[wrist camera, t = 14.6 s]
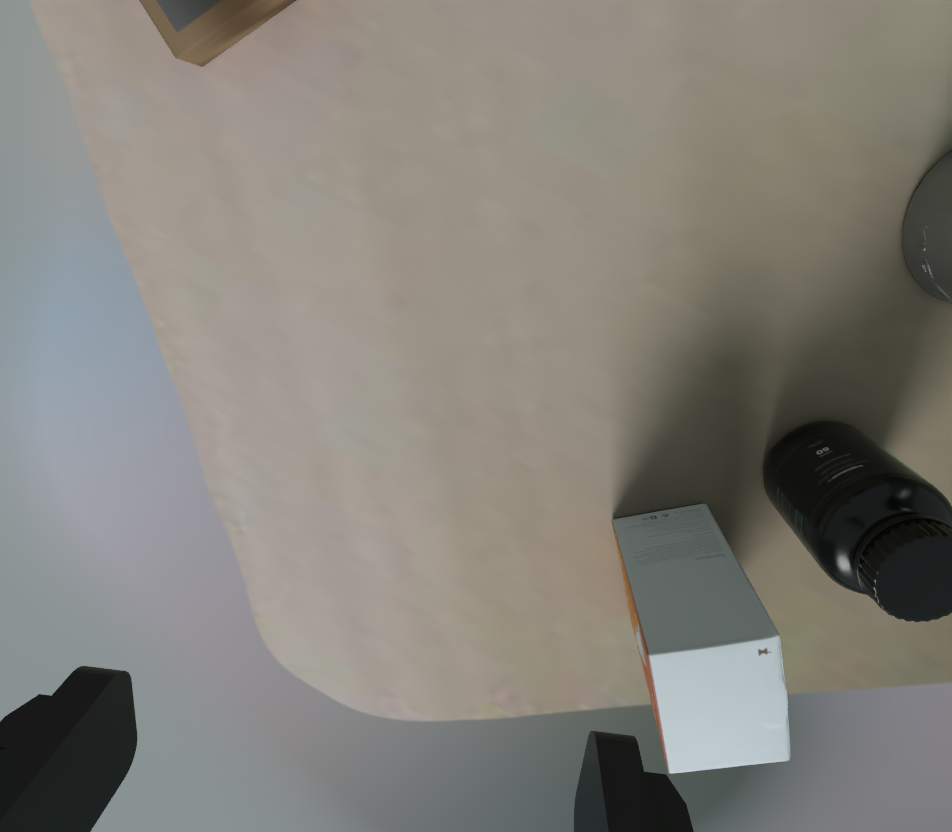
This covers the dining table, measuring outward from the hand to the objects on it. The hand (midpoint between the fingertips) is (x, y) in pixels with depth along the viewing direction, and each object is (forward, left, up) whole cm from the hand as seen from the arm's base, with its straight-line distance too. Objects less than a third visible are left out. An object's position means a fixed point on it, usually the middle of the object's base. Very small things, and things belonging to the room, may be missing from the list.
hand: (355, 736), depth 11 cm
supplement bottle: (-15, +18, -30) cm, 38 cm away
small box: (-4, +20, -30) cm, 37 cm away
